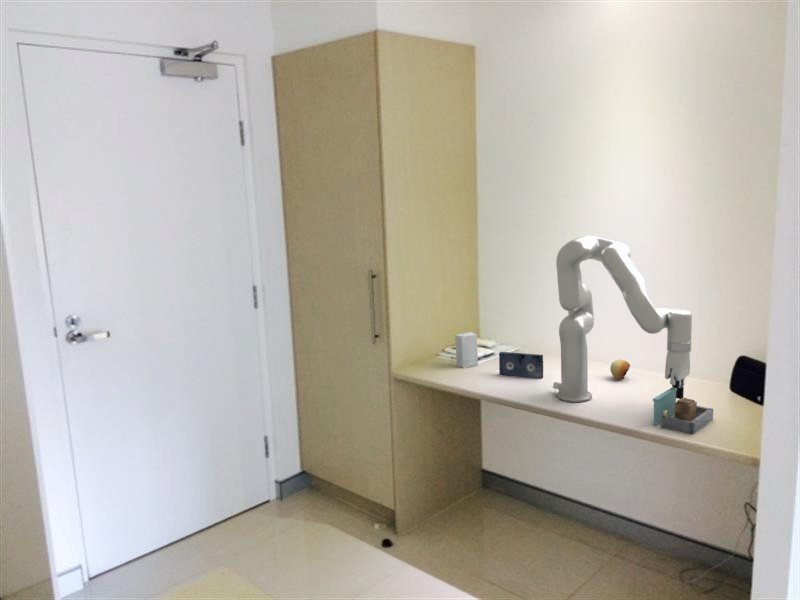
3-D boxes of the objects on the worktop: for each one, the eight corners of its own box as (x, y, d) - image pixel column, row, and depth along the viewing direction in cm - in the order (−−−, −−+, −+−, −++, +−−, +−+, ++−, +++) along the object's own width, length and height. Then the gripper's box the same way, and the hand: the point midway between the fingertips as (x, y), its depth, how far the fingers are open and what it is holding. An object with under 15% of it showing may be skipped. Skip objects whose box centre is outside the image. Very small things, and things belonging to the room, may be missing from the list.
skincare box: (471, 362, 295) (470, 331, 292) (478, 365, 289) (477, 333, 287) (455, 365, 291) (454, 333, 289) (462, 368, 286) (461, 336, 283)
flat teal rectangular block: (652, 424, 211) (653, 398, 209) (671, 411, 221) (672, 387, 220) (657, 425, 210) (657, 399, 208) (676, 412, 220) (677, 388, 219)
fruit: (627, 375, 264) (627, 356, 262) (632, 381, 255) (632, 362, 254) (608, 376, 264) (608, 357, 263) (612, 382, 256) (612, 363, 255)
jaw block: (674, 423, 212) (674, 400, 210) (680, 418, 215) (681, 396, 214) (689, 426, 208) (690, 404, 207) (696, 422, 211) (696, 400, 210)
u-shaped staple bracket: (660, 426, 209) (661, 410, 208) (681, 412, 220) (682, 397, 219) (692, 434, 202) (693, 417, 201) (713, 419, 213) (713, 403, 212)
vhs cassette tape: (543, 377, 267) (543, 354, 266) (541, 379, 265) (541, 356, 263) (501, 373, 276) (500, 351, 274) (499, 375, 273) (498, 353, 272)
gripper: (677, 340, 226) (675, 390, 229) (658, 349, 216) (657, 401, 219) (699, 343, 221) (697, 394, 224) (681, 352, 211) (679, 405, 214)
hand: (677, 397), depth 222 cm, fingers closed
